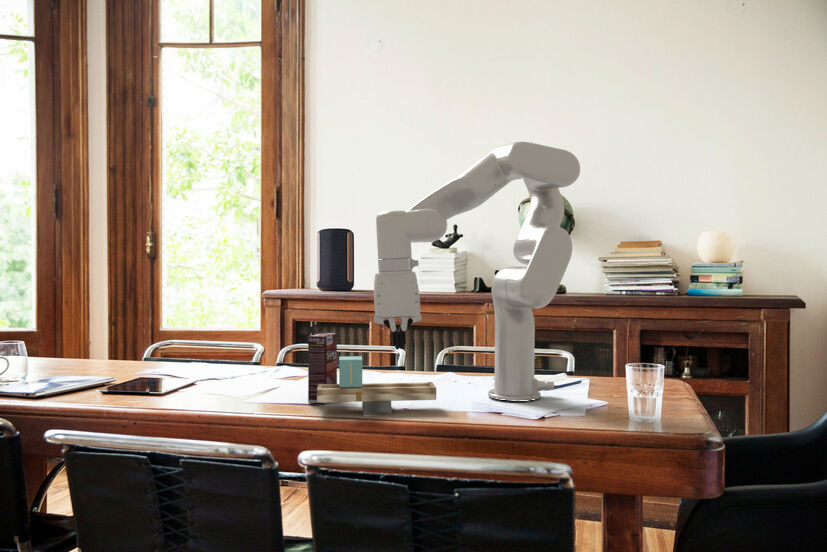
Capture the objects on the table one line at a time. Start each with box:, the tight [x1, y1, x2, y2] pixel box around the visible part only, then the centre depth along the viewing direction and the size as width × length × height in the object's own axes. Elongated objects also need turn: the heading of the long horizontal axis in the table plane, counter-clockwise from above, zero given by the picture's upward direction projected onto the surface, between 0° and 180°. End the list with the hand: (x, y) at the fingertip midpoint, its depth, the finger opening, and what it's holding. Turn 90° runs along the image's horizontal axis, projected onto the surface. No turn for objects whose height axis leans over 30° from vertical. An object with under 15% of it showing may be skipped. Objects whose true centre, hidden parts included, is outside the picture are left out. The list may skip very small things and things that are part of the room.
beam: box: [317, 381, 437, 416], centre depth 156 cm, size 26×9×6 cm, turn 96°
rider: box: [338, 355, 363, 388], centre depth 155 cm, size 5×5×7 cm
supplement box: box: [307, 332, 338, 405], centre depth 167 cm, size 9×5×16 cm, turn 168°
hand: (399, 348), depth 157 cm, fingers closed
